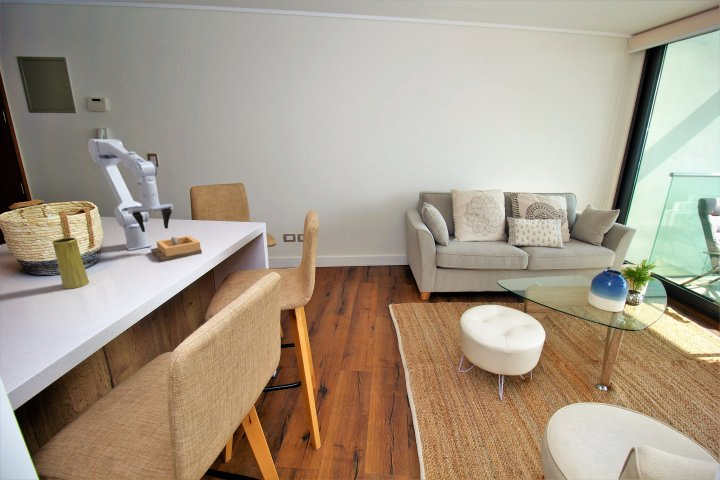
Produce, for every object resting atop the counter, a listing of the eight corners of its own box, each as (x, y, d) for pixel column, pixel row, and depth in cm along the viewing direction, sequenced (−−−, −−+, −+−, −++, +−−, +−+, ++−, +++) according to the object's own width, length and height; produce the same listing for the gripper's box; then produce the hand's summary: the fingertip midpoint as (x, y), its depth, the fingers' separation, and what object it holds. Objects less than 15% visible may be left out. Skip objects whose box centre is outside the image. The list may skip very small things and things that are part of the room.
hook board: (151, 252, 125) (148, 238, 123) (189, 245, 135) (187, 231, 133) (161, 261, 116) (158, 246, 114) (201, 253, 125) (199, 238, 124)
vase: (74, 290, 93) (61, 243, 89) (57, 287, 95) (44, 242, 90) (94, 281, 99) (83, 237, 95) (78, 279, 100) (67, 236, 96)
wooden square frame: (157, 248, 125) (156, 241, 124) (190, 242, 133) (189, 235, 132) (166, 256, 117) (165, 248, 116) (200, 249, 125) (199, 242, 124)
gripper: (127, 198, 111) (135, 235, 115) (173, 194, 121) (179, 228, 125) (123, 195, 116) (130, 231, 120) (168, 191, 126) (173, 225, 130)
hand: (155, 229), depth 123 cm, fingers open, 7 cm apart
